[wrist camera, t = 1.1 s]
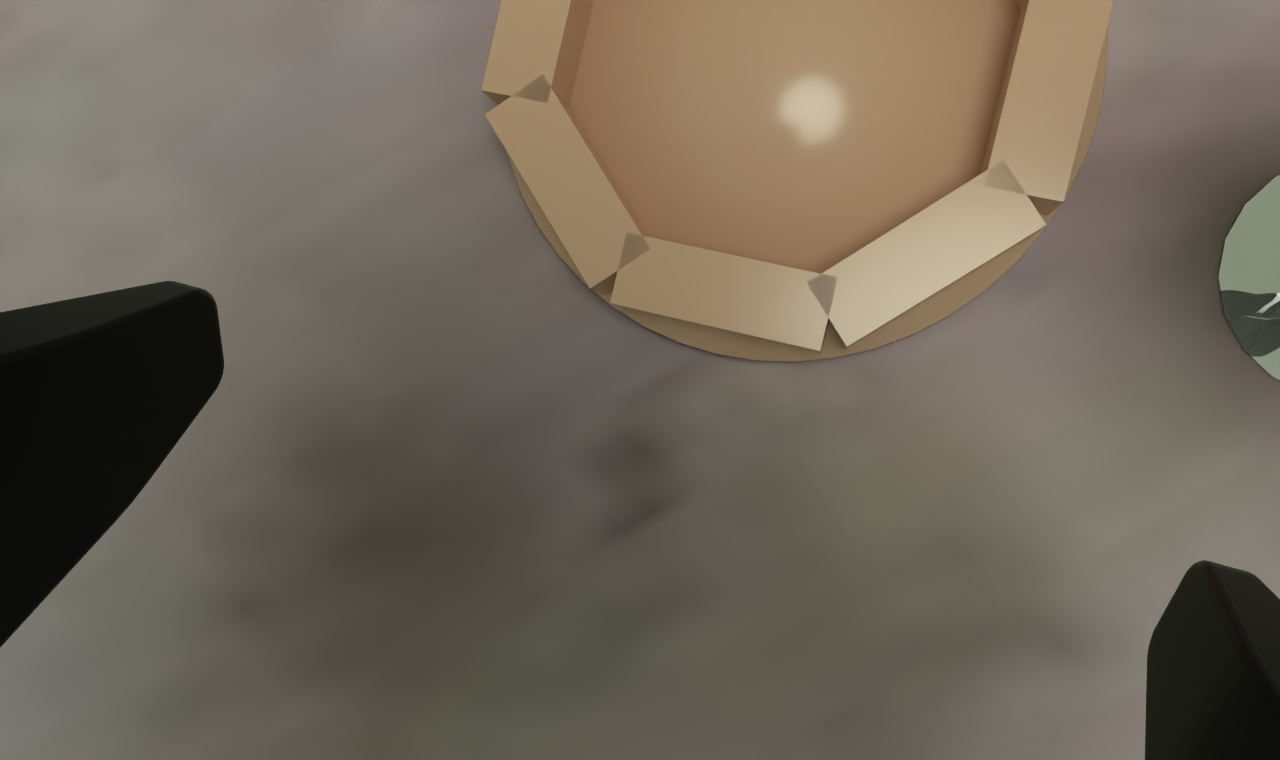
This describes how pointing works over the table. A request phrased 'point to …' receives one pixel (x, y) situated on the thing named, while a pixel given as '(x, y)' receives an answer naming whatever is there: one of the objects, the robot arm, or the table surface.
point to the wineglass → (1255, 278)
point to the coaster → (794, 155)
